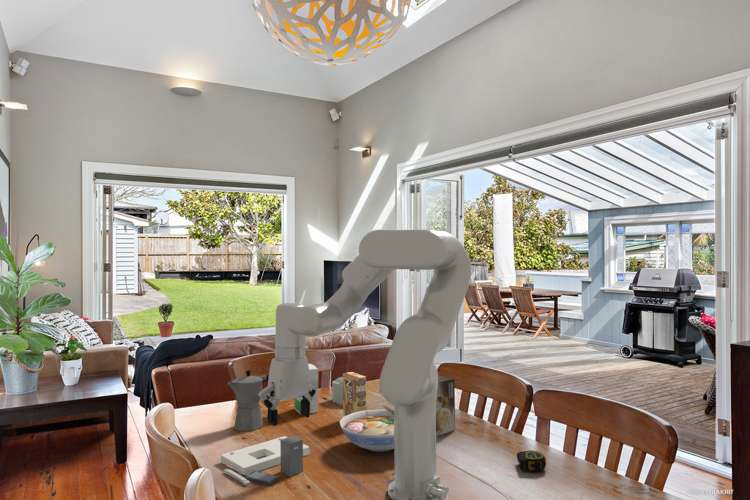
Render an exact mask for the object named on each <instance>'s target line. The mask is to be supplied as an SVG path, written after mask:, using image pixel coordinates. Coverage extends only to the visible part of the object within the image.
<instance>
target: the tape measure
mask: <svg viewBox="0 0 750 500" xmlns="http://www.w3.org/2000/svg"><path fill="white" fill-rule="evenodd" d="M516 459H517V461H518V462H517V463H518V465H519V467H518V468H519V469H520V470H521V472H527V471H529V472H532V473H533V472H541V471H543V470H545V468H546V466H547V460H546V457H545V455H544V453H542V452H541V451H537V450H531V449H530V450H524V451H523V450H522V451H518V452H517V453H516Z"/></svg>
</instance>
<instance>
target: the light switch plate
mask: <svg viewBox="0 0 750 500" xmlns="http://www.w3.org/2000/svg"><path fill="white" fill-rule="evenodd" d="M285 438H288V437H287V436H285V435H283V436H281V437H277V438H274V439H270V440H268V441H264V442H259V443H256V444H253V445H250V446H249V445H248V446H246V447H243V448H239V449H237V450H233V451H230V452H226V453H225V452H224V453H222V454H220V463H221V462H223V463H225V464H226V465H228V466H230V467H232V468H233V469H235V470H236V471H238V472H240V473H242V474H243V475H246V476H247V474H250V473H252V472H254V471H258V472H261V471H263V470H268V469H270V468H272V467H276V466H279V465H281V449H280V440H281V439H285ZM310 449H311V448H310V446H308V445H306V444H304V443H303V457H307V456H308V455H310V454H311V452H310V451H311V450H310ZM223 463H222V464H223ZM226 465H225V466H226ZM228 466H227V467H228ZM233 469H232V470H233ZM236 471H235V472H236ZM238 472H237V473H238ZM240 473H239V474H240ZM243 475H242V476H243Z"/></svg>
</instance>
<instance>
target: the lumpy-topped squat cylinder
mask: <svg viewBox="0 0 750 500" xmlns="http://www.w3.org/2000/svg"><path fill="white" fill-rule="evenodd" d="M331 384H332V386H331V387H332V390H331V391H332V393H331V394H332V397H331V398H332V399H331V400H332V402H333V403H335V402H336V404H338V403H340V404H339V405H343V376H340V377H337V378H336V379H335V380H332V382H331ZM367 387H368V383H367V382H366V403H367V402H368V388H367ZM367 404H368V403H367Z"/></svg>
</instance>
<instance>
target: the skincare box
mask: <svg viewBox="0 0 750 500" xmlns="http://www.w3.org/2000/svg"><path fill="white" fill-rule="evenodd" d="M308 366H309V378H310V379H312V380H314V381H317V382H318V383H319V368H318V367H316V365H313V364H312V363H308ZM310 387H311V385H310ZM310 387H309V389H310ZM318 396H319V385H318V386H317V389H316V393H315V394H314V396H313V397H312V401H311V402H310V413H311V414H317V413H318V411H319V409H318V403H319V402H318V401H319V397H318ZM302 399H303V398H302V397H297V398H293V408H294V410H295V411H296V412H297V413H298V414H299V415H300V401H301V400H302ZM316 412H317V413H316Z"/></svg>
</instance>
